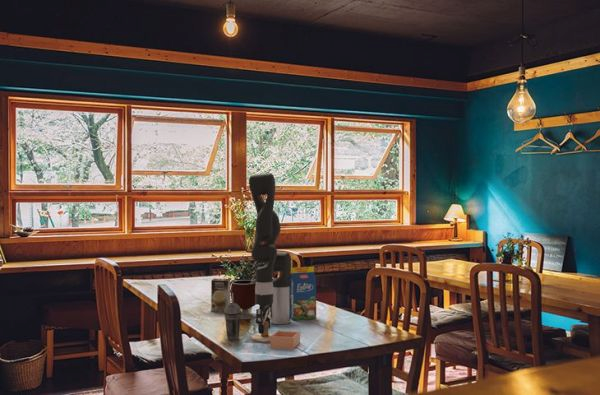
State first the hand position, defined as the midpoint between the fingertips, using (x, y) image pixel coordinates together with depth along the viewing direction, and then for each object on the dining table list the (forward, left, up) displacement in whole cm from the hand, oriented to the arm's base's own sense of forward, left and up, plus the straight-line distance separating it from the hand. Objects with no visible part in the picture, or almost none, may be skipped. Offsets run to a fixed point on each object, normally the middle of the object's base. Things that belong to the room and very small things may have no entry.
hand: (264, 331), depth 248 cm
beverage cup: (+3, -13, -4) cm, 14 cm away
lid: (0, 0, -3) cm, 3 cm away
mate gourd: (-41, -23, -4) cm, 47 cm away
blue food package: (-44, +5, -4) cm, 45 cm away
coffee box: (-52, -41, -4) cm, 66 cm away
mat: (0, 0, -4) cm, 4 cm away
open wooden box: (+7, +11, -4) cm, 14 cm away
